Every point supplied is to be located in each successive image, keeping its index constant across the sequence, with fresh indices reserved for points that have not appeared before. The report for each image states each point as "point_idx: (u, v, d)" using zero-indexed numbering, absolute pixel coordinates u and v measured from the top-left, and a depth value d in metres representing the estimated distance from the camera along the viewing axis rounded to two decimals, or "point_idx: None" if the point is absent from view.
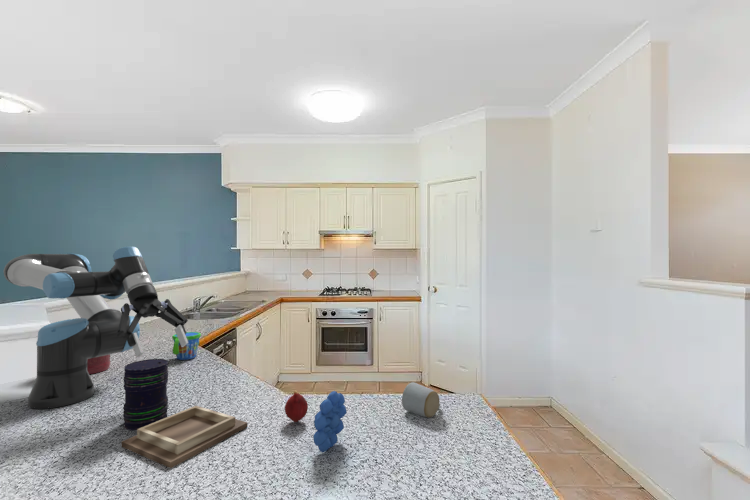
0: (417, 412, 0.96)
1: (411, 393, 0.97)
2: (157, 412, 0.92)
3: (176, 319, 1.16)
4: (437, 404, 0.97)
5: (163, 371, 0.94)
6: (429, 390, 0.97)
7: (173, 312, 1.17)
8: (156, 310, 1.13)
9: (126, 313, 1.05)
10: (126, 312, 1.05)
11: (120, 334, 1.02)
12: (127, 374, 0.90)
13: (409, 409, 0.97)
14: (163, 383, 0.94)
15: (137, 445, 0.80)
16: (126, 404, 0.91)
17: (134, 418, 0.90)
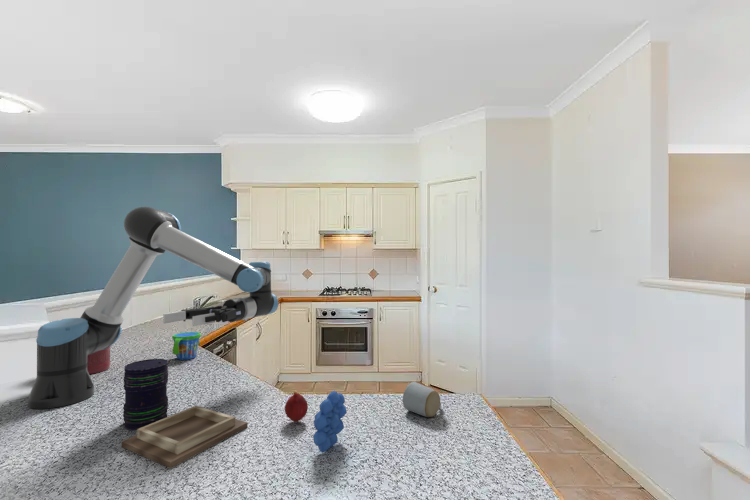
0: (418, 412, 0.96)
1: (412, 393, 0.98)
2: (157, 412, 0.92)
3: (192, 318, 1.14)
4: (438, 404, 0.98)
5: (163, 371, 0.94)
6: (430, 390, 0.97)
7: None
8: None
9: None
10: (233, 317, 1.11)
11: (223, 317, 1.04)
12: (127, 374, 0.90)
13: (410, 409, 0.98)
14: (163, 383, 0.94)
15: (137, 445, 0.80)
16: (126, 404, 0.91)
17: (134, 418, 0.90)
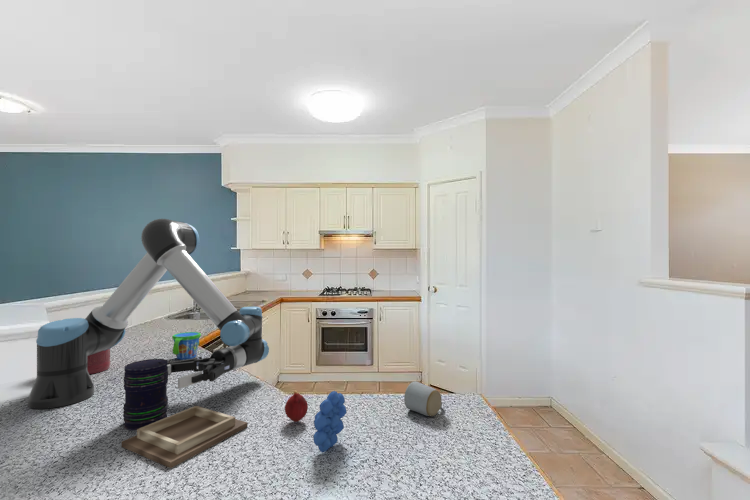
0: (419, 411, 0.97)
1: (413, 392, 0.98)
2: (157, 412, 0.92)
3: None
4: (439, 403, 0.98)
5: (163, 371, 0.94)
6: (431, 389, 0.98)
7: None
8: None
9: None
10: None
11: (210, 376, 1.00)
12: (127, 374, 0.90)
13: (412, 408, 0.98)
14: (163, 383, 0.94)
15: (137, 445, 0.80)
16: (126, 404, 0.91)
17: (134, 418, 0.90)
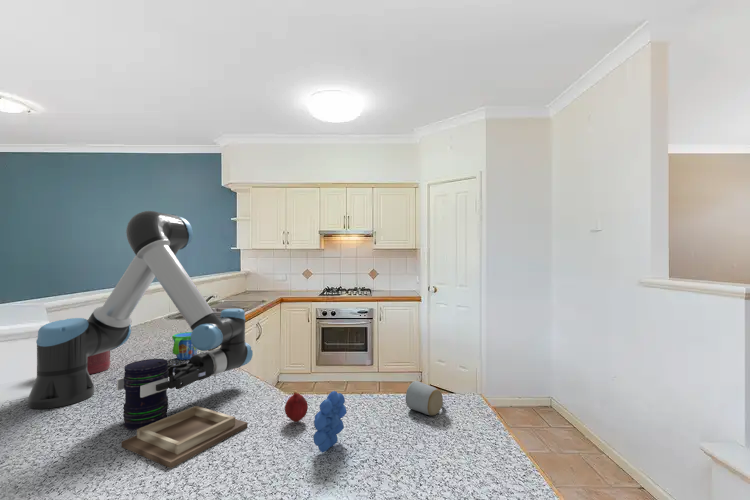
0: (421, 410, 0.97)
1: (415, 391, 0.99)
2: (157, 412, 0.92)
3: None
4: (440, 402, 0.99)
5: (163, 371, 0.94)
6: (432, 388, 0.98)
7: None
8: None
9: None
10: None
11: (176, 384, 0.93)
12: (127, 374, 0.90)
13: (413, 407, 0.99)
14: None
15: (137, 445, 0.80)
16: (126, 404, 0.91)
17: (134, 418, 0.90)
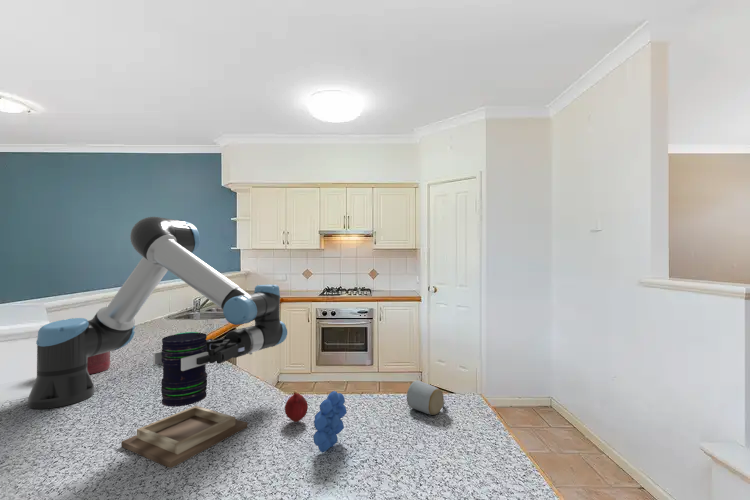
0: (422, 409, 0.97)
1: (416, 391, 0.99)
2: (197, 388, 0.86)
3: None
4: (441, 402, 0.99)
5: (203, 344, 0.88)
6: (433, 388, 0.98)
7: None
8: None
9: None
10: None
11: (218, 358, 0.87)
12: (166, 346, 0.84)
13: (414, 406, 0.99)
14: None
15: (137, 445, 0.80)
16: (165, 379, 0.84)
17: (174, 393, 0.83)
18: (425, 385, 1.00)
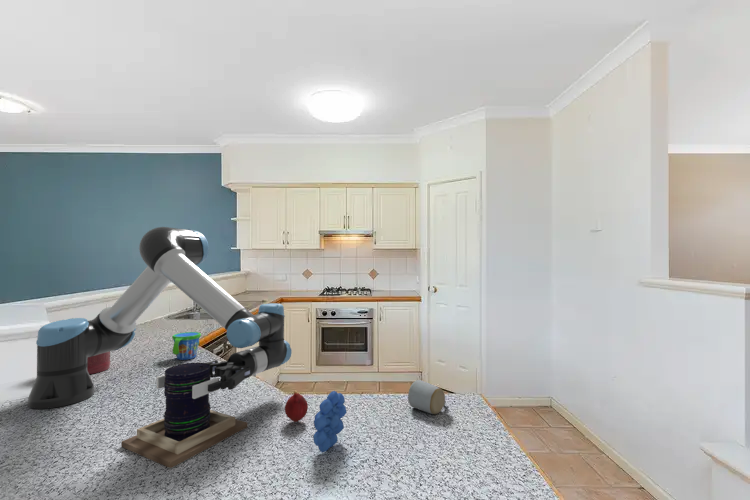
0: (423, 409, 0.98)
1: (417, 390, 0.99)
2: (201, 421, 0.84)
3: None
4: (442, 401, 0.99)
5: (206, 376, 0.86)
6: (435, 387, 0.99)
7: None
8: None
9: None
10: None
11: (229, 384, 0.86)
12: (169, 380, 0.83)
13: (415, 406, 0.99)
14: None
15: (137, 445, 0.80)
16: (167, 412, 0.83)
17: (177, 428, 0.82)
18: (426, 384, 1.00)
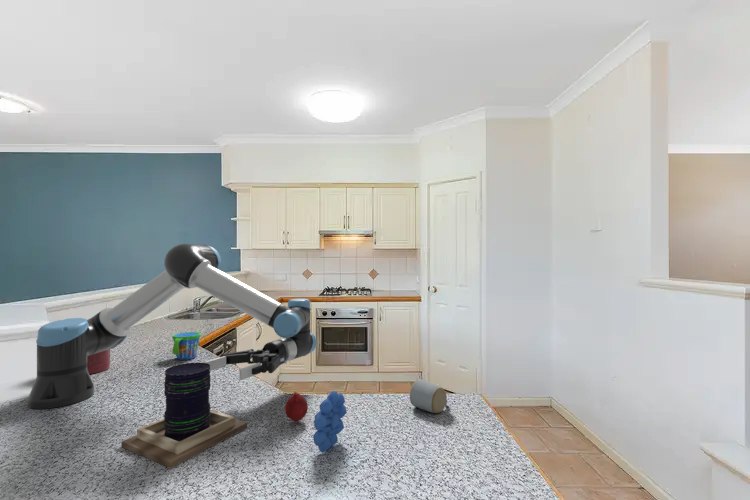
0: (425, 408, 0.98)
1: (419, 389, 1.00)
2: (201, 421, 0.84)
3: None
4: (444, 400, 1.00)
5: (206, 376, 0.86)
6: (436, 386, 0.99)
7: None
8: None
9: None
10: None
11: (270, 368, 0.97)
12: (169, 379, 0.83)
13: (417, 405, 1.00)
14: (206, 389, 0.86)
15: (137, 445, 0.80)
16: (168, 412, 0.83)
17: (177, 428, 0.82)
18: (428, 384, 1.01)
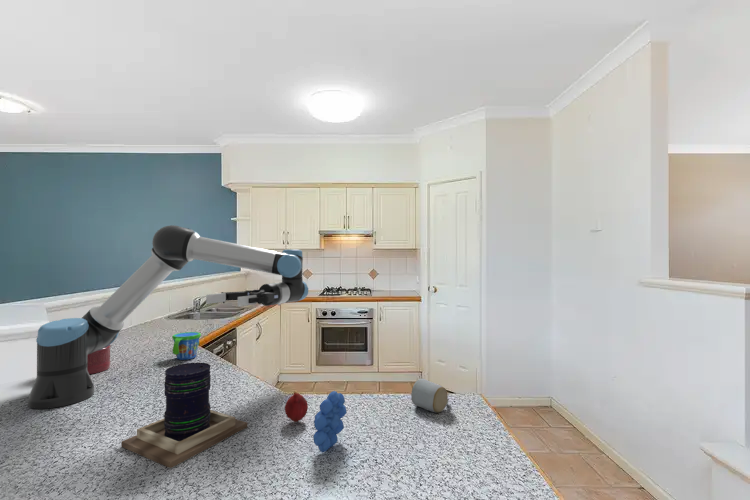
0: (426, 407, 0.99)
1: (420, 389, 1.01)
2: (201, 421, 0.84)
3: (230, 300, 1.18)
4: (445, 399, 1.00)
5: (206, 376, 0.86)
6: (438, 386, 1.00)
7: None
8: None
9: (271, 301, 1.15)
10: (272, 301, 1.16)
11: (264, 299, 1.09)
12: (169, 379, 0.83)
13: (418, 404, 1.01)
14: (206, 389, 0.86)
15: (137, 445, 0.80)
16: (168, 412, 0.83)
17: (177, 428, 0.82)
18: (429, 383, 1.01)
